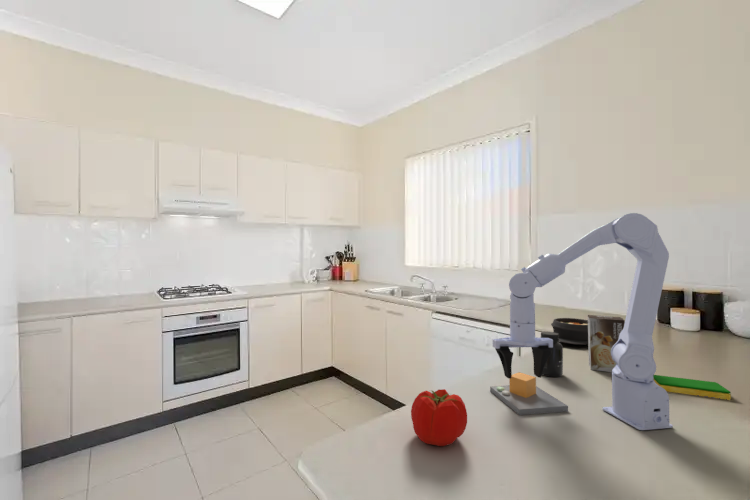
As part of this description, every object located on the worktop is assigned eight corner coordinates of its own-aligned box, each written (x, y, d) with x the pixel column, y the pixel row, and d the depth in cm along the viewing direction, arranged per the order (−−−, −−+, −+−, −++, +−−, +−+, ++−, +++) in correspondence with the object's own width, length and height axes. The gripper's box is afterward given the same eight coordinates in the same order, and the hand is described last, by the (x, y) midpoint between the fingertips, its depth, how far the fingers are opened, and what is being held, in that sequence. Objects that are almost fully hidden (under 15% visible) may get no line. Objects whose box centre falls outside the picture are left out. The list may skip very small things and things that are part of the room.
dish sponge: (731, 401, 82) (731, 391, 82) (659, 391, 87) (659, 382, 87) (716, 391, 88) (716, 381, 88) (650, 382, 94) (650, 374, 94)
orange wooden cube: (536, 393, 82) (535, 377, 82) (526, 398, 80) (526, 381, 80) (519, 387, 86) (519, 372, 86) (509, 391, 83) (509, 375, 83)
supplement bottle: (566, 378, 96) (566, 336, 96) (540, 376, 97) (540, 335, 97) (558, 370, 102) (558, 331, 102) (534, 368, 104) (534, 330, 104)
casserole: (591, 352, 121) (591, 329, 121) (538, 342, 135) (538, 321, 135) (609, 340, 138) (609, 320, 138) (560, 333, 152) (560, 314, 152)
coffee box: (622, 368, 104) (622, 316, 105) (626, 374, 99) (626, 320, 99) (587, 363, 109) (587, 314, 109) (589, 369, 103) (589, 317, 103)
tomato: (476, 437, 65) (476, 392, 65) (447, 463, 57) (447, 412, 57) (429, 419, 72) (429, 378, 72) (398, 440, 64) (398, 394, 64)
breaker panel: (568, 411, 76) (568, 403, 76) (519, 414, 74) (519, 407, 74) (532, 388, 88) (532, 381, 88) (490, 391, 87) (490, 384, 87)
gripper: (501, 325, 78) (501, 383, 78) (560, 324, 79) (561, 381, 79) (488, 319, 85) (489, 372, 85) (543, 318, 86) (544, 371, 86)
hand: (522, 376), depth 83 cm, fingers open, 7 cm apart
